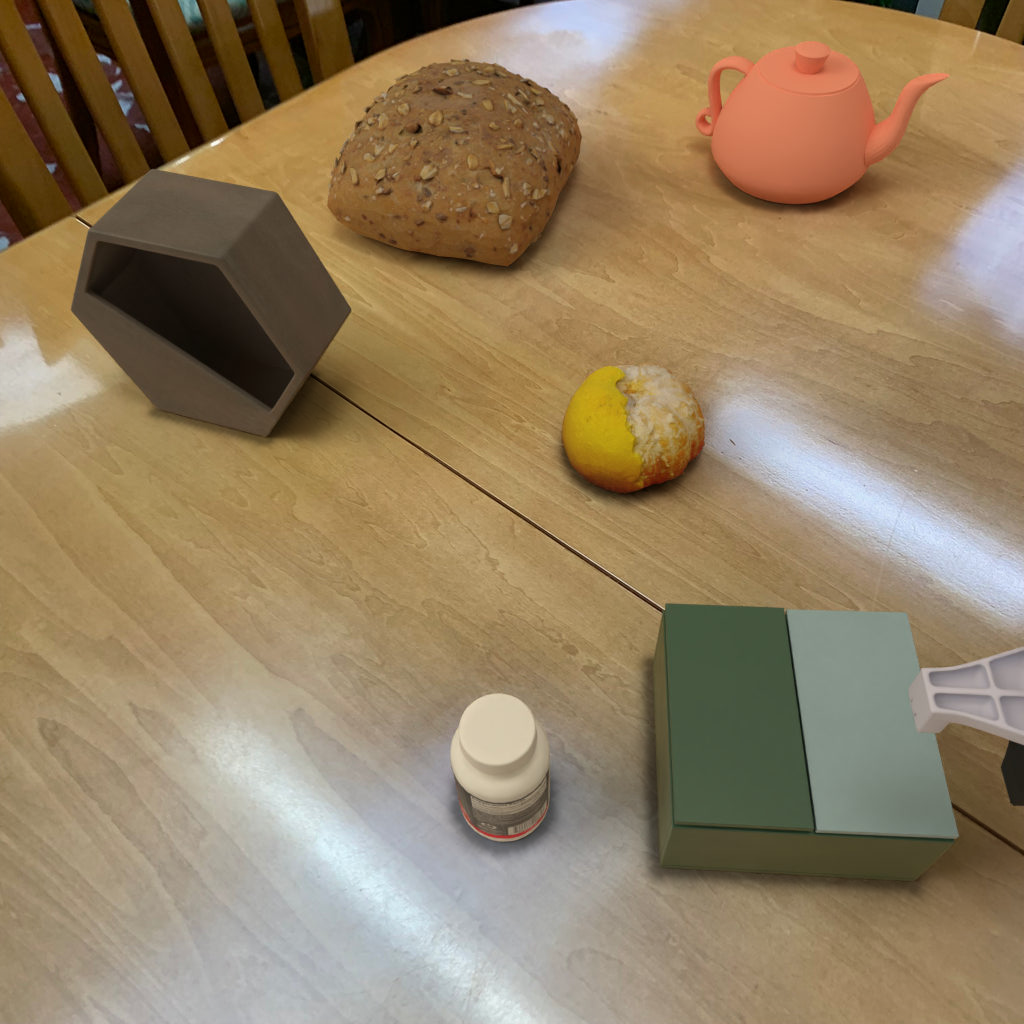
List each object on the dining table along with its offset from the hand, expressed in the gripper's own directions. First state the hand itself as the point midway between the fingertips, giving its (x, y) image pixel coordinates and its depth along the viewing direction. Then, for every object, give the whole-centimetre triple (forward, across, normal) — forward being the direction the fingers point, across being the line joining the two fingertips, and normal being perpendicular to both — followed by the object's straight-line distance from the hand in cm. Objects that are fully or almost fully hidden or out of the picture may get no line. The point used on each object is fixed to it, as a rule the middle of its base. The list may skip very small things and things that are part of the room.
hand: (1020, 785), depth 44 cm
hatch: (+4, +5, -5) cm, 8 cm away
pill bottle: (+11, +25, -2) cm, 27 cm away
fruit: (+11, +17, -30) cm, 36 cm away
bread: (+11, +33, -63) cm, 72 cm away
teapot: (+11, 0, -68) cm, 69 cm away
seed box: (+10, +9, -5) cm, 15 cm away
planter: (+11, +49, -35) cm, 61 cm away
